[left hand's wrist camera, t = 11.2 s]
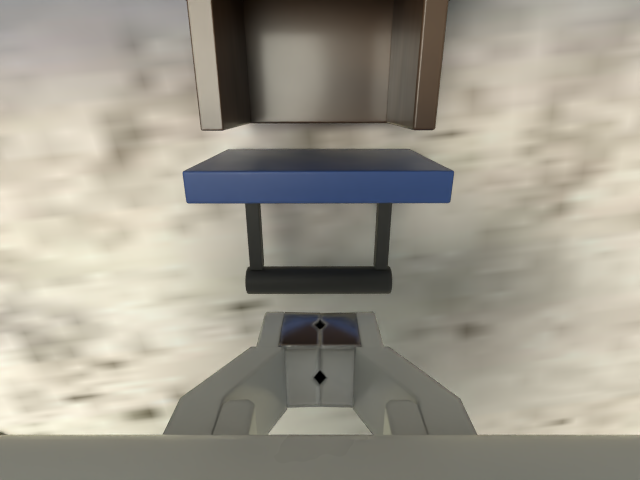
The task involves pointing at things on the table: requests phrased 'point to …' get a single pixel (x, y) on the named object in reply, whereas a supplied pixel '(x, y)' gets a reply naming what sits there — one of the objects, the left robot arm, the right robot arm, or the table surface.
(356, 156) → the drawer
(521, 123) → the table surface
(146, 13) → the table surface
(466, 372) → the table surface
